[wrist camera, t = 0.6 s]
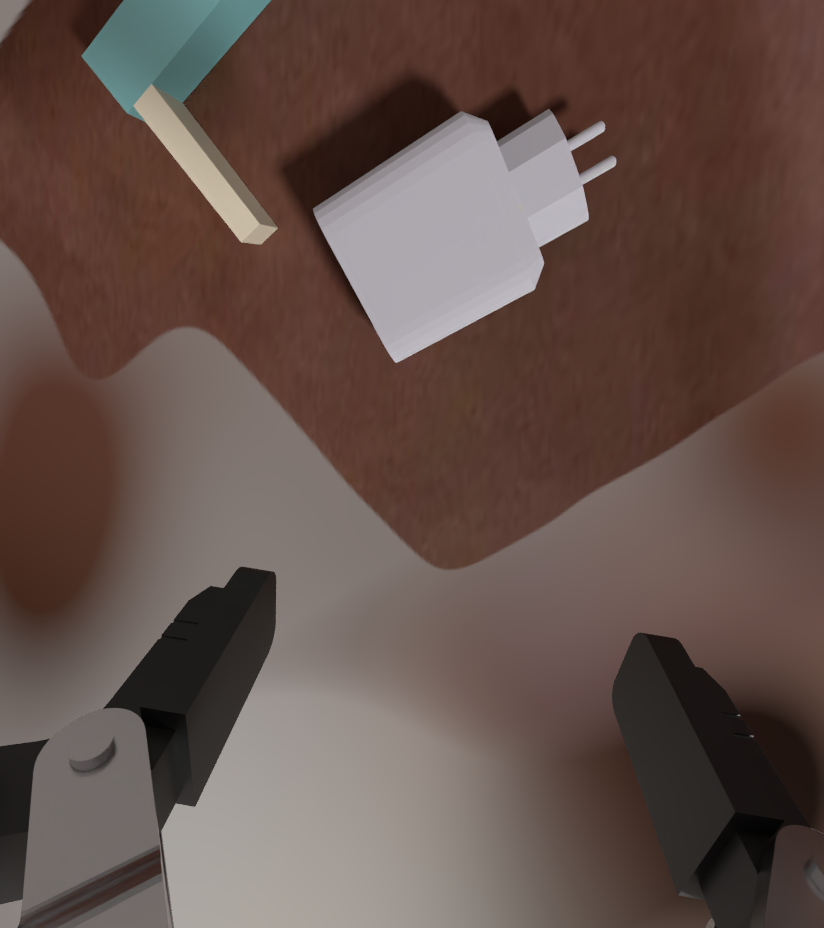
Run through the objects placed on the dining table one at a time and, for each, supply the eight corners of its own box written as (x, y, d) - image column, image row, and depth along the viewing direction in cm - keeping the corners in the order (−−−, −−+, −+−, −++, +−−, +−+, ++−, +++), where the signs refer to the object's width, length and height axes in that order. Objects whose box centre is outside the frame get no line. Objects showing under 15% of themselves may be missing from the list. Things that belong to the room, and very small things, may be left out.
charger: (622, 233, 28) (401, 352, 31) (565, 63, 25) (329, 215, 28) (655, 227, 23) (394, 366, 27) (590, 20, 20) (307, 207, 24)
